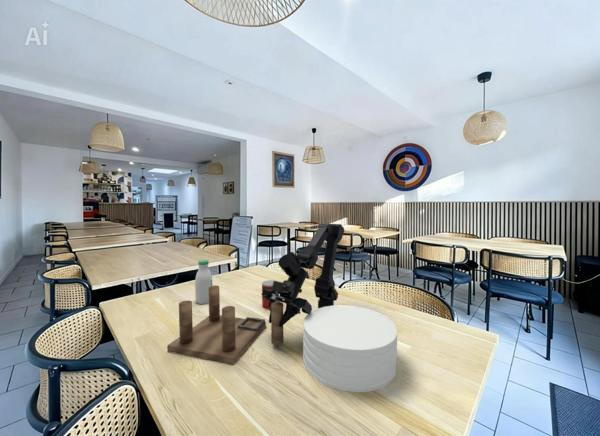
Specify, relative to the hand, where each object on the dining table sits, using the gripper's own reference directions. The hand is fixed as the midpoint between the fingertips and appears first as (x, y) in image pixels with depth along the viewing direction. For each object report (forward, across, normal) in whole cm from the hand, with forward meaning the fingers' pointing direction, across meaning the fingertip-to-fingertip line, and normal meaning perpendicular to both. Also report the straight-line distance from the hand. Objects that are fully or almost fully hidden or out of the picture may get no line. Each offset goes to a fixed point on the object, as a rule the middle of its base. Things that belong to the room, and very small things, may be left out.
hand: (274, 324), depth 85 cm
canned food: (-12, -24, +24) cm, 36 cm away
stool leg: (+4, 0, +6) cm, 7 cm away
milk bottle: (-1, -54, +13) cm, 55 cm away
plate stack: (0, +22, +13) cm, 25 cm away
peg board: (+10, -20, +1) cm, 22 cm away
